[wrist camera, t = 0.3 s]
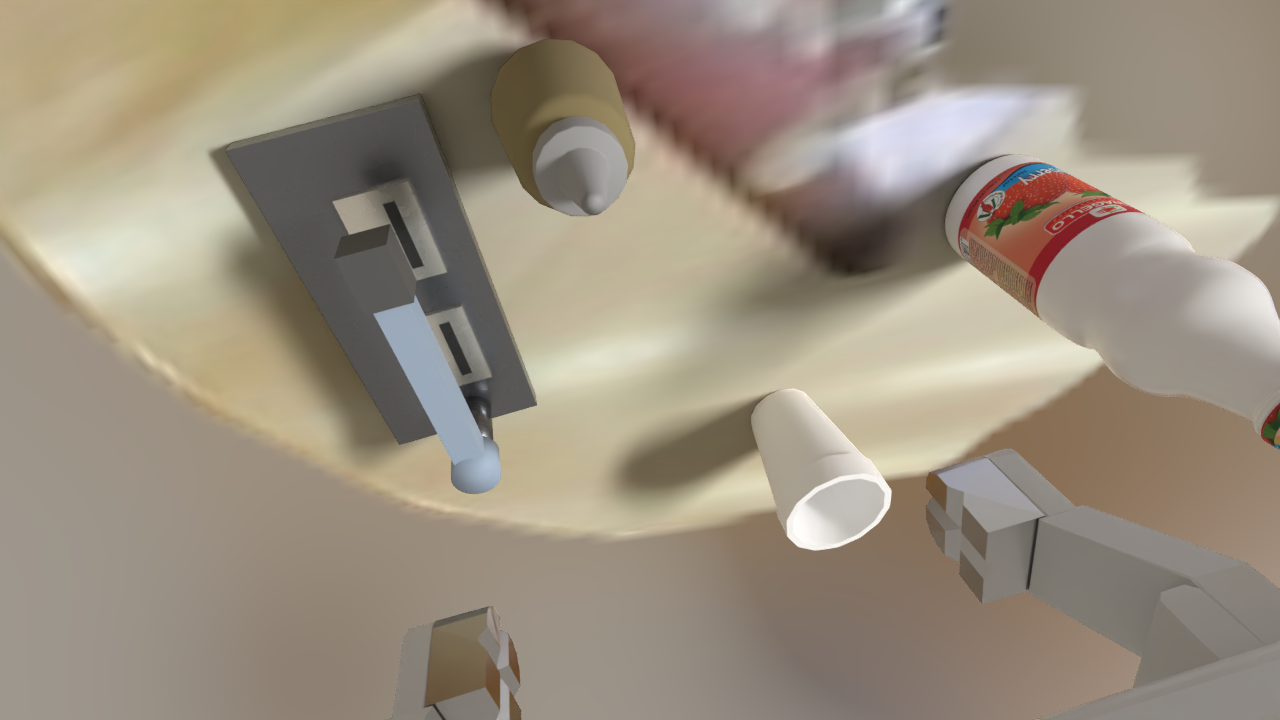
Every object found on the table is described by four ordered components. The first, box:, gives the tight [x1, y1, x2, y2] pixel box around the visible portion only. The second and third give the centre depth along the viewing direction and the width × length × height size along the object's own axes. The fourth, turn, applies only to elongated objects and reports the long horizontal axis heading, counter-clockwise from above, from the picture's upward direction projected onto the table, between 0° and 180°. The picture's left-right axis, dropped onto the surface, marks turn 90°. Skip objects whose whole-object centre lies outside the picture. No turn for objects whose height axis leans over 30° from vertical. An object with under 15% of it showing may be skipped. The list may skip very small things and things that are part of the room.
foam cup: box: [751, 389, 891, 550], centre depth 61 cm, size 10×9×13 cm
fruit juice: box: [945, 155, 1280, 449], centre depth 46 cm, size 9×9×28 cm
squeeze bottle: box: [491, 39, 635, 216], centre depth 37 cm, size 8×8×18 cm
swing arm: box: [334, 224, 501, 494], centre depth 45 cm, size 21×4×3 cm, turn 11°
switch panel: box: [226, 94, 537, 445], centre depth 48 cm, size 26×12×6 cm, turn 11°
